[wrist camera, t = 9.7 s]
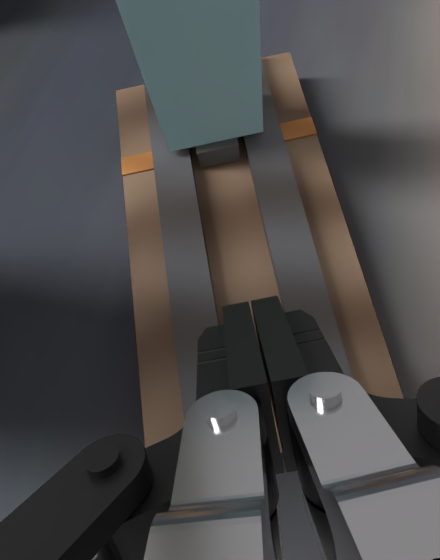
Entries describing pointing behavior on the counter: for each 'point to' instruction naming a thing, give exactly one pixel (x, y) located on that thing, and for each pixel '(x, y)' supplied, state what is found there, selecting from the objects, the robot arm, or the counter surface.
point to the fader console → (238, 246)
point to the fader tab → (200, 71)
